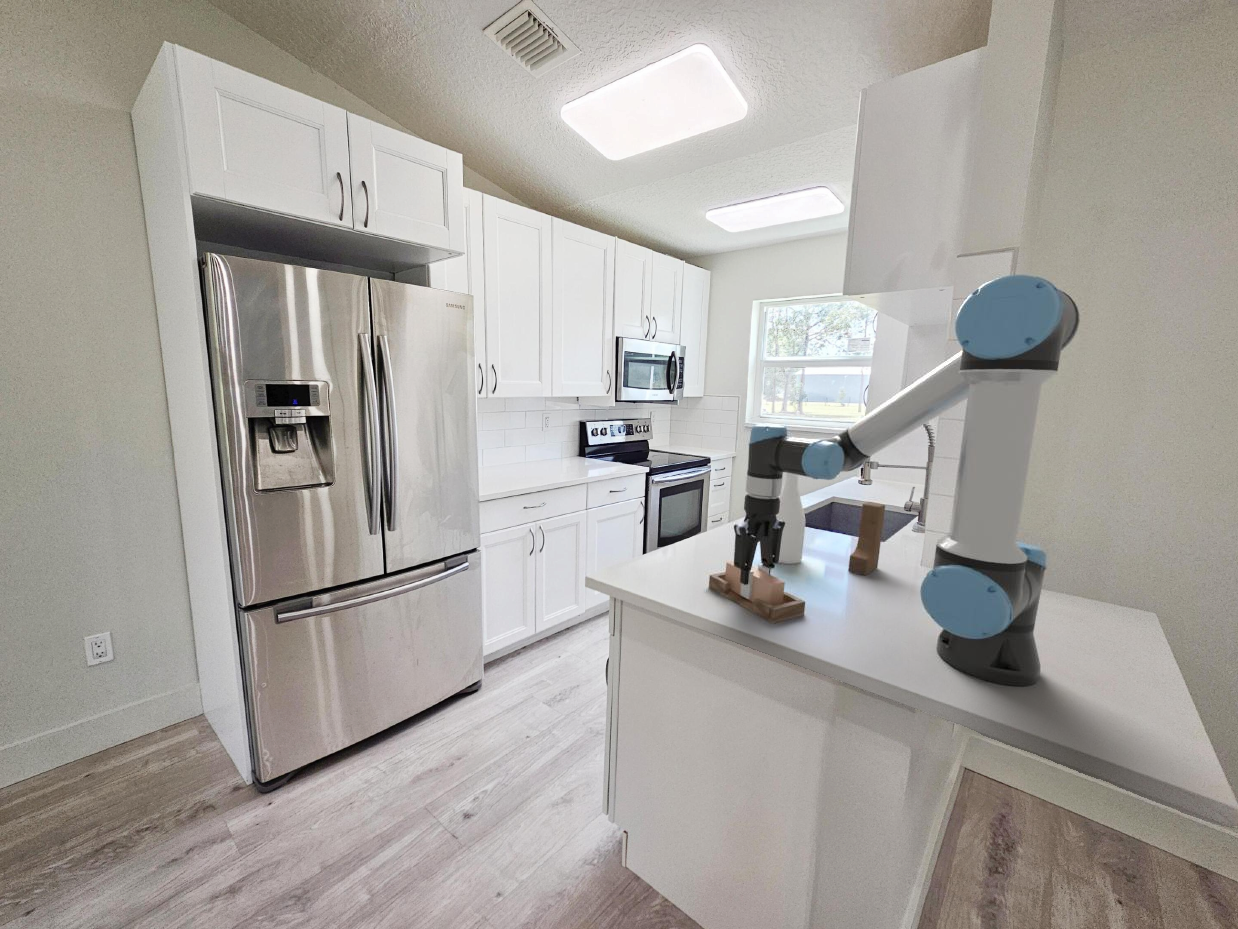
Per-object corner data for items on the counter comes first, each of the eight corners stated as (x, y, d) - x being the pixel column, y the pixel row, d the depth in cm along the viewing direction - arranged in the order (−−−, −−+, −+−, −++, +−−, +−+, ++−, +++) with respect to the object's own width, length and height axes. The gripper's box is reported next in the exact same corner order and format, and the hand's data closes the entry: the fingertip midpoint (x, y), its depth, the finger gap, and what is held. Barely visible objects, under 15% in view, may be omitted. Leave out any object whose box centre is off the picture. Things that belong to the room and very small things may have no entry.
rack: (804, 614, 108) (805, 601, 107) (772, 623, 103) (773, 609, 103) (738, 580, 125) (739, 569, 125) (708, 587, 121) (709, 575, 120)
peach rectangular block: (782, 607, 110) (785, 581, 109) (769, 611, 108) (772, 584, 107) (736, 583, 121) (738, 559, 120) (724, 586, 119) (726, 562, 118)
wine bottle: (804, 566, 137) (815, 458, 132) (768, 563, 138) (778, 456, 134) (797, 555, 146) (808, 453, 141) (764, 552, 148) (773, 451, 143)
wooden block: (864, 576, 132) (873, 509, 129) (847, 571, 135) (855, 506, 132) (877, 568, 138) (885, 504, 135) (860, 563, 141) (868, 501, 138)
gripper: (777, 488, 118) (768, 583, 121) (721, 494, 109) (713, 595, 113) (803, 495, 111) (793, 595, 115) (745, 502, 103) (736, 608, 107)
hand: (753, 594), depth 114 cm, fingers closed on peach rectangular block, 4 cm apart
